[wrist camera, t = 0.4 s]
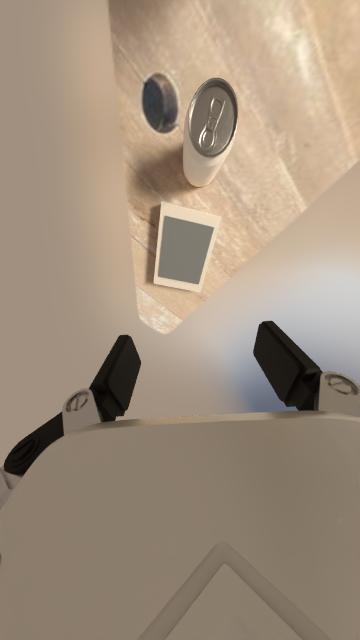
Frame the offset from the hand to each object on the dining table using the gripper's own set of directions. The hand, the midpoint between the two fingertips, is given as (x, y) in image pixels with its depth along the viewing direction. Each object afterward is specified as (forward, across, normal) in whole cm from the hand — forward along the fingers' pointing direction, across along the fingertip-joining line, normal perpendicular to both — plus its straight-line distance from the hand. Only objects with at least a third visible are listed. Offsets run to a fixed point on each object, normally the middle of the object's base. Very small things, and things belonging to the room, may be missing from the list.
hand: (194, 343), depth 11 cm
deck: (+29, 0, -3) cm, 29 cm away
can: (+30, -5, -17) cm, 34 cm away
